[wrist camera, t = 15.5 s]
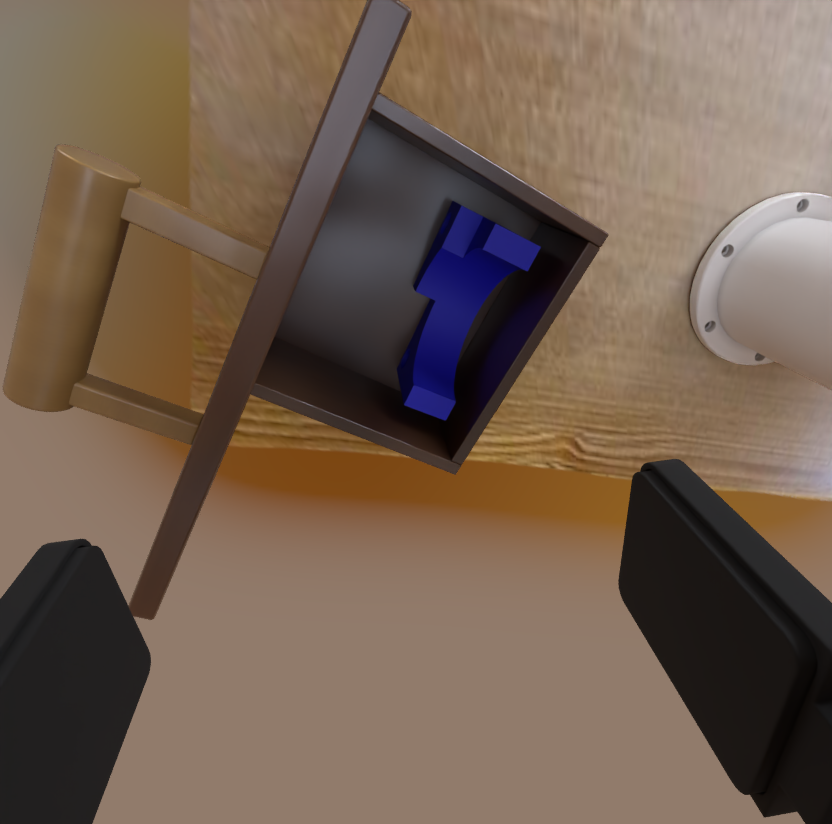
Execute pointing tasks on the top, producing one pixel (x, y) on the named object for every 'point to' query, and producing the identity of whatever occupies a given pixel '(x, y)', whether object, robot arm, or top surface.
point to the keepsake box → (396, 298)
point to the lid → (130, 203)
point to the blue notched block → (455, 302)
